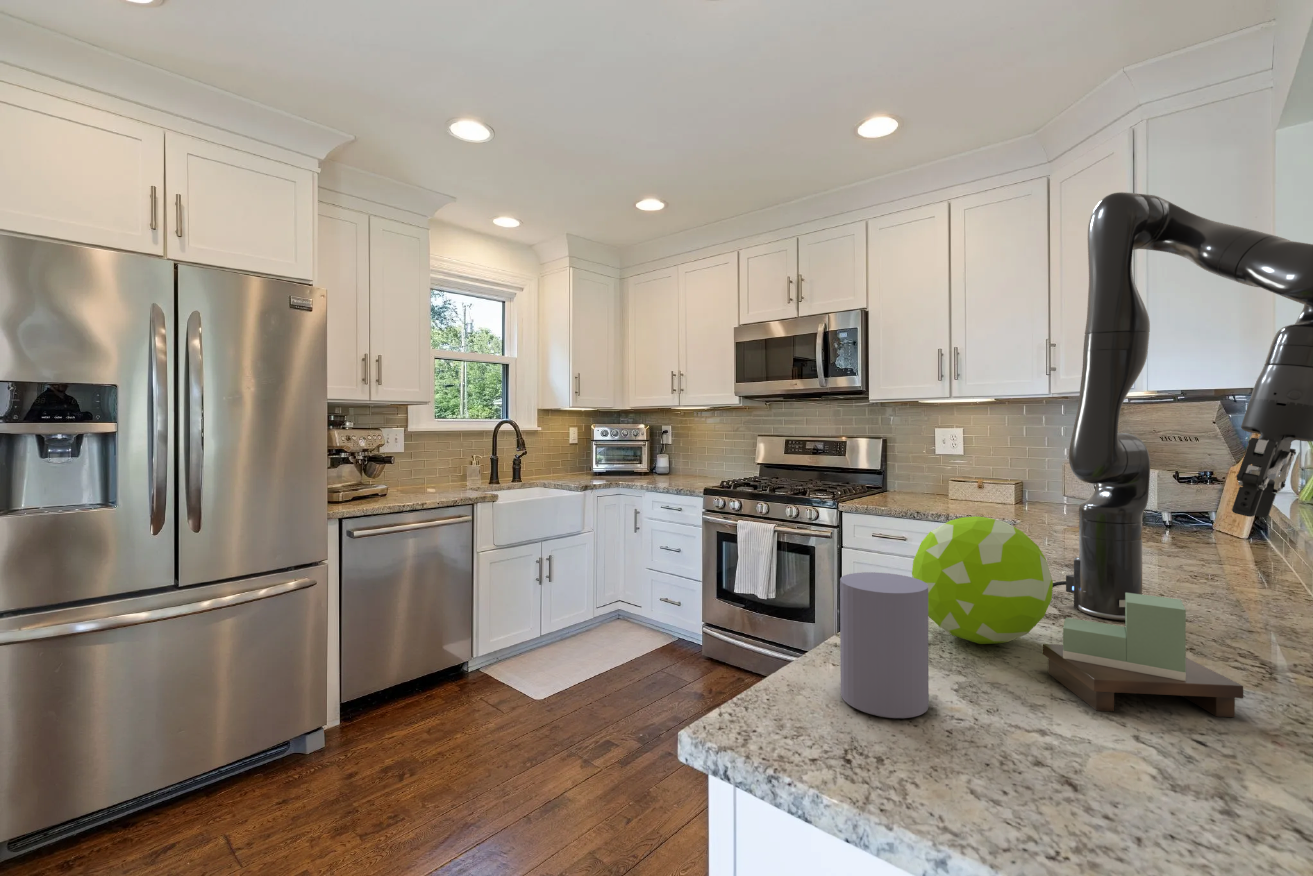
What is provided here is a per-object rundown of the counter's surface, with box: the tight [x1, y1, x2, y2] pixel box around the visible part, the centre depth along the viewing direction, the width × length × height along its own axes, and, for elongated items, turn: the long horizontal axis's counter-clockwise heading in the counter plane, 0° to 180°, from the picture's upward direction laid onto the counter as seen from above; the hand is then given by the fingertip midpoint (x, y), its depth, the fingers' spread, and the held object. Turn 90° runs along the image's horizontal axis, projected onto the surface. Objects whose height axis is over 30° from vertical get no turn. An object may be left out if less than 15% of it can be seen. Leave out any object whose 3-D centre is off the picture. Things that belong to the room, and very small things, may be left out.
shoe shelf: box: [1042, 643, 1244, 718], centre depth 76 cm, size 16×12×4 cm
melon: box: [911, 515, 1054, 645], centre depth 96 cm, size 20×25×20 cm
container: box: [839, 571, 930, 719], centre depth 74 cm, size 10×10×15 cm
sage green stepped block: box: [1062, 593, 1187, 681], centre depth 76 cm, size 12×6×8 cm, turn 53°
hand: (1249, 515), depth 82 cm, fingers open, 8 cm apart
